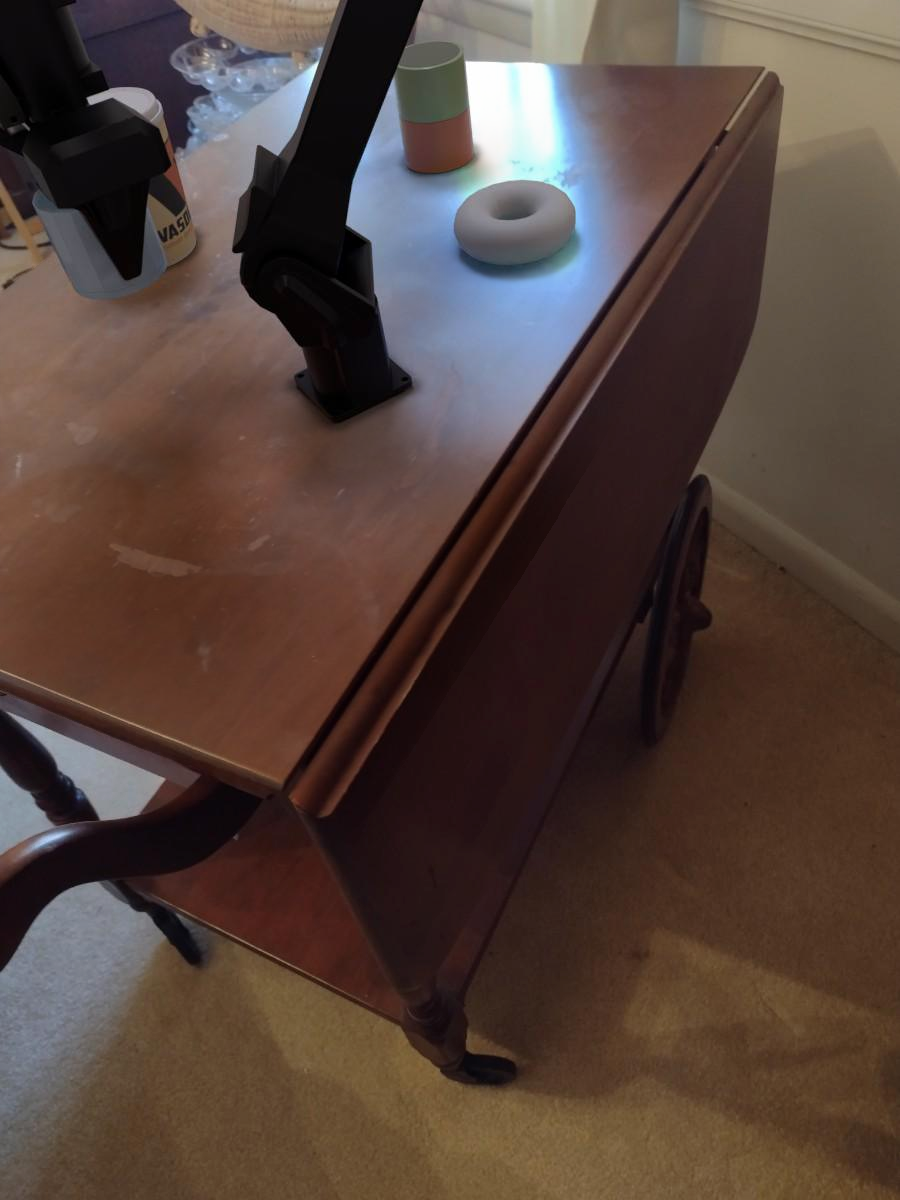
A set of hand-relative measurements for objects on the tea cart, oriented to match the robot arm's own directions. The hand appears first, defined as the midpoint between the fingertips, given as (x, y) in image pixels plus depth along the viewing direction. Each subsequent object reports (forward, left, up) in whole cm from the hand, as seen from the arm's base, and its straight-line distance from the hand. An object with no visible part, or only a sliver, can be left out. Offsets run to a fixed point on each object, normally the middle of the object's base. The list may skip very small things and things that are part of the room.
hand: (114, 257), depth 57 cm
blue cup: (0, 0, -1) cm, 1 cm away
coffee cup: (+24, -7, -12) cm, 28 cm away
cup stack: (+20, -35, -12) cm, 42 cm away
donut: (+2, -31, -12) cm, 33 cm away
